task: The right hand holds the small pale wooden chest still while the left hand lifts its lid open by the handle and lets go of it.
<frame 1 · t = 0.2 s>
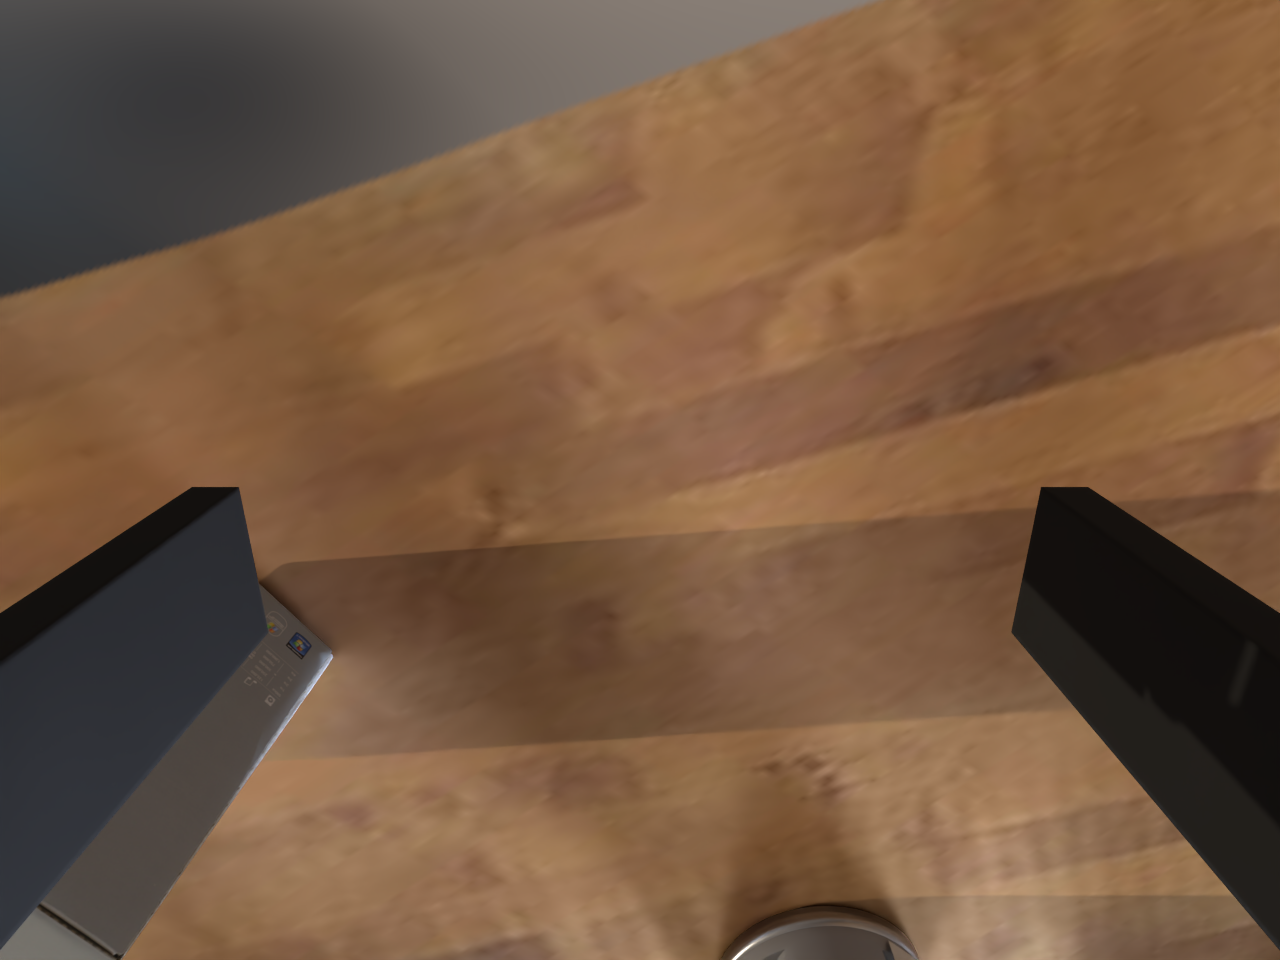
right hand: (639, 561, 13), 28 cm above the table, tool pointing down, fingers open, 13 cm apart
hard drive box: (208, 673, 47), on the table
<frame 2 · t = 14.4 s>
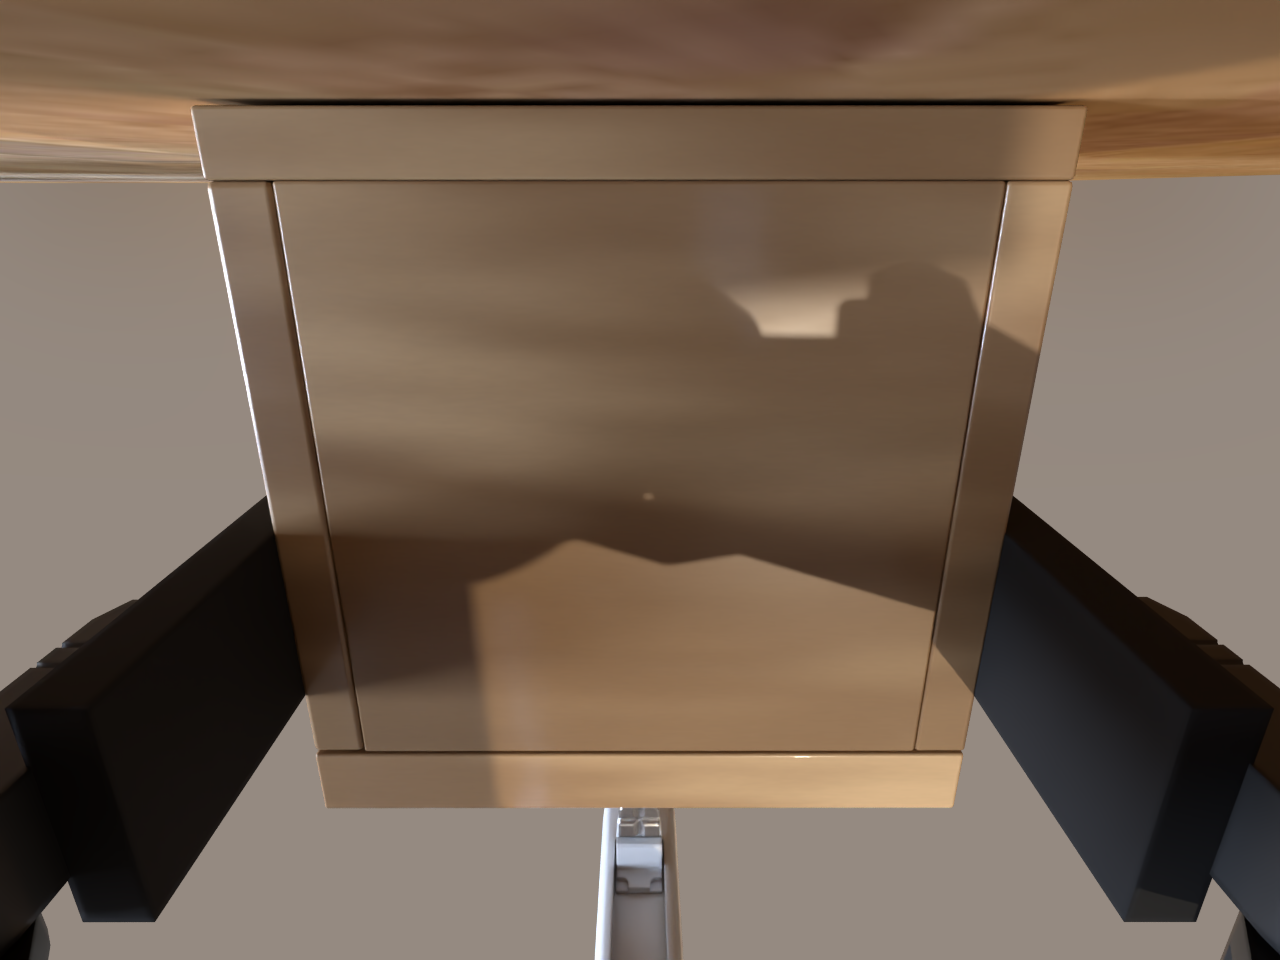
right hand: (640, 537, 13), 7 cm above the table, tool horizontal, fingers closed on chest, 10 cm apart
lid: (639, 703, 20), point 14 cm above the table, hinge at 0.0°
chest: (639, 141, 15), on the table, touching right hand
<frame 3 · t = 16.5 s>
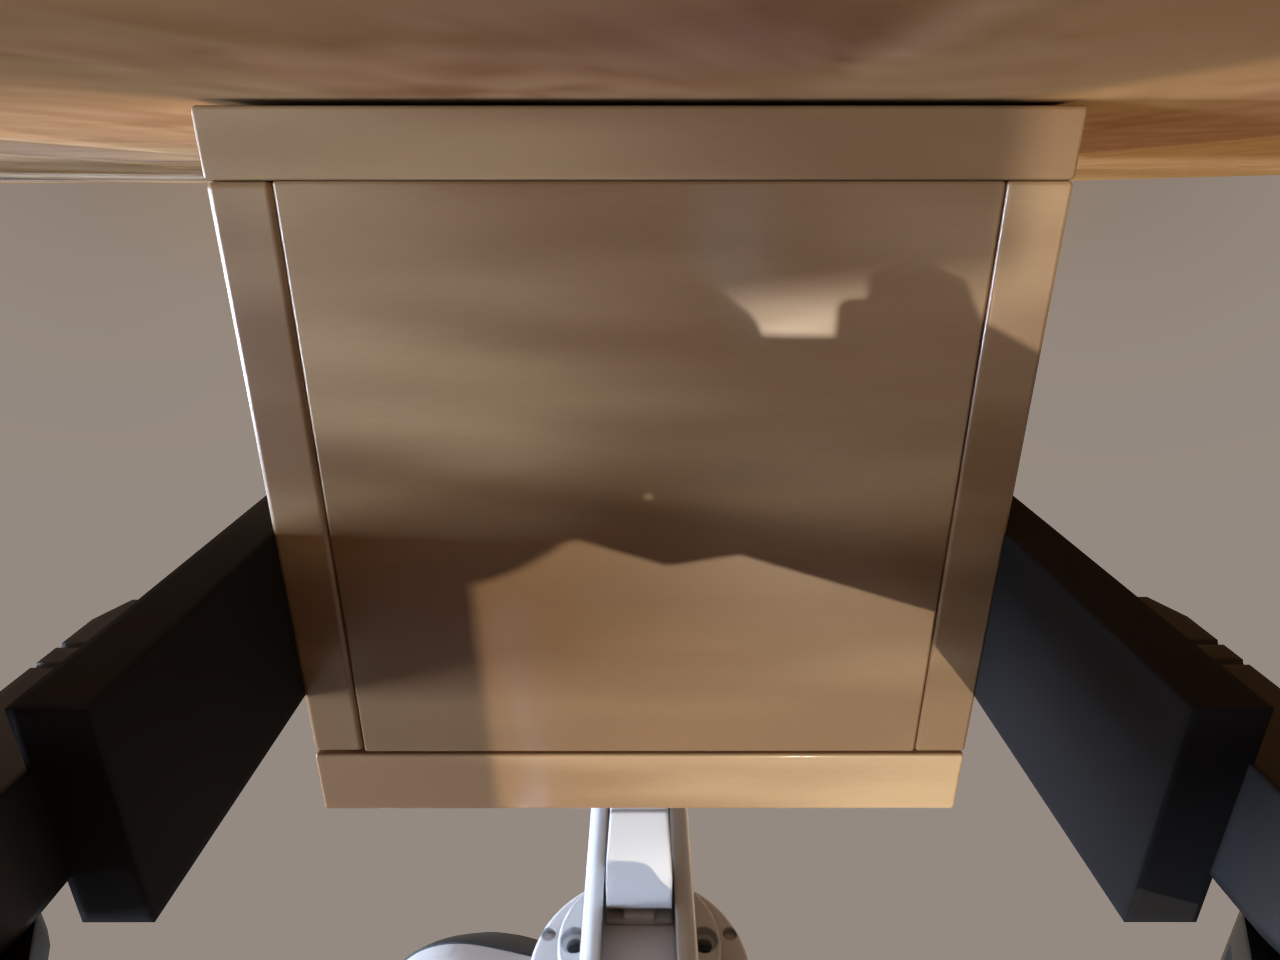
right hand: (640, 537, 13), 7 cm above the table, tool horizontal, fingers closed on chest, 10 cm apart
lid: (639, 703, 20), point 14 cm above the table, hinge at -0.1°, touching left hand
chest: (639, 141, 15), on the table, touching right hand
when the right hand's fingers open (7 cm above the table, at t = 23.4 s): chest stays where it is, on the table.
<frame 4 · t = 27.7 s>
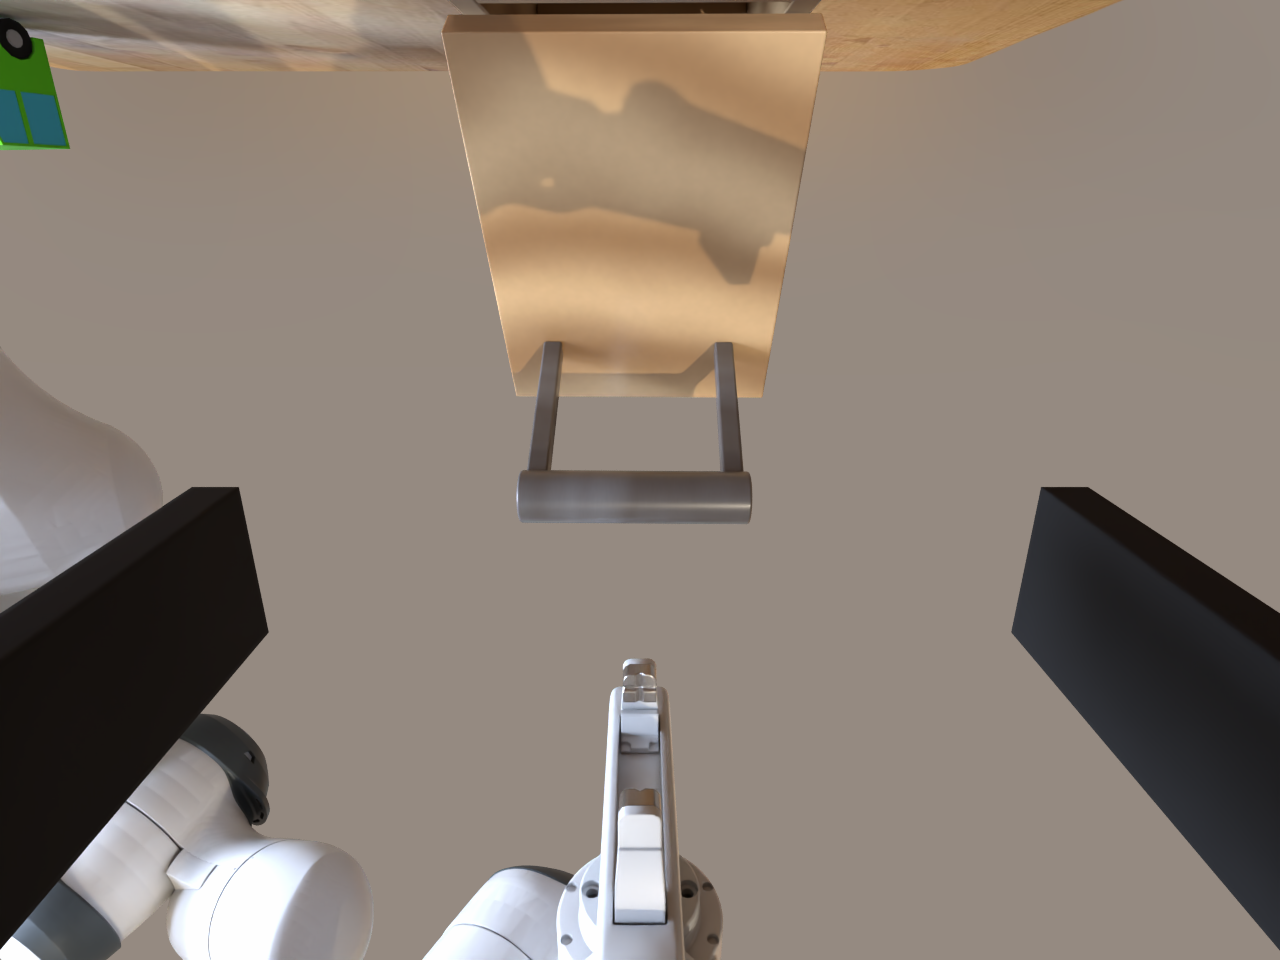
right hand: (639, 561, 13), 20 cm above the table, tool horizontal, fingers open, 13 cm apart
left hand: (639, 725, 35), fingers open, 8 cm apart
lid: (634, 323, 23), point 18 cm above the table, hinge at 57.4°
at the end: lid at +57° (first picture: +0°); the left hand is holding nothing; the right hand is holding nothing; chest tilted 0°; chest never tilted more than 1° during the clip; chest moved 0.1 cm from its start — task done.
